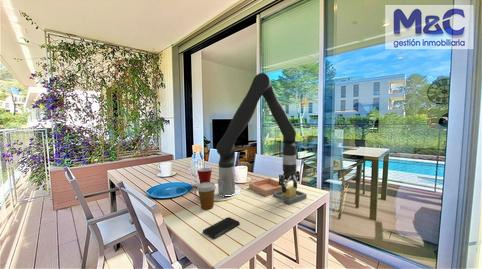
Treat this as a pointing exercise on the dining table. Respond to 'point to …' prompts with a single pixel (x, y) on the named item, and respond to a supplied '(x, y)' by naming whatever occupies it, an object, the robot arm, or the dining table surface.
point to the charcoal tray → (298, 197)
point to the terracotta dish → (266, 186)
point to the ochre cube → (290, 192)
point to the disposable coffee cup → (206, 195)
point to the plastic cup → (204, 174)
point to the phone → (221, 228)
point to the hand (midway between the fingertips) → (289, 190)
